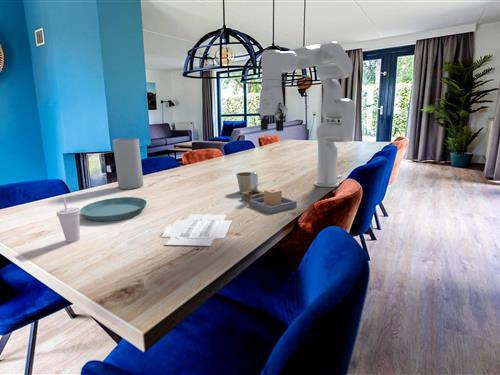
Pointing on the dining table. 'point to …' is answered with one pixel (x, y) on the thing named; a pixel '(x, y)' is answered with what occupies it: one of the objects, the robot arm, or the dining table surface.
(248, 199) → the walnut bore block
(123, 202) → the teal plate
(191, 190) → the dining table surface
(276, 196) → the orange block with knob
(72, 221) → the smoothie
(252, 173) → the steel pin
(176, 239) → the white flat piece
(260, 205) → the grey square tray
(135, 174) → the cylinder vase
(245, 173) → the flower pot
